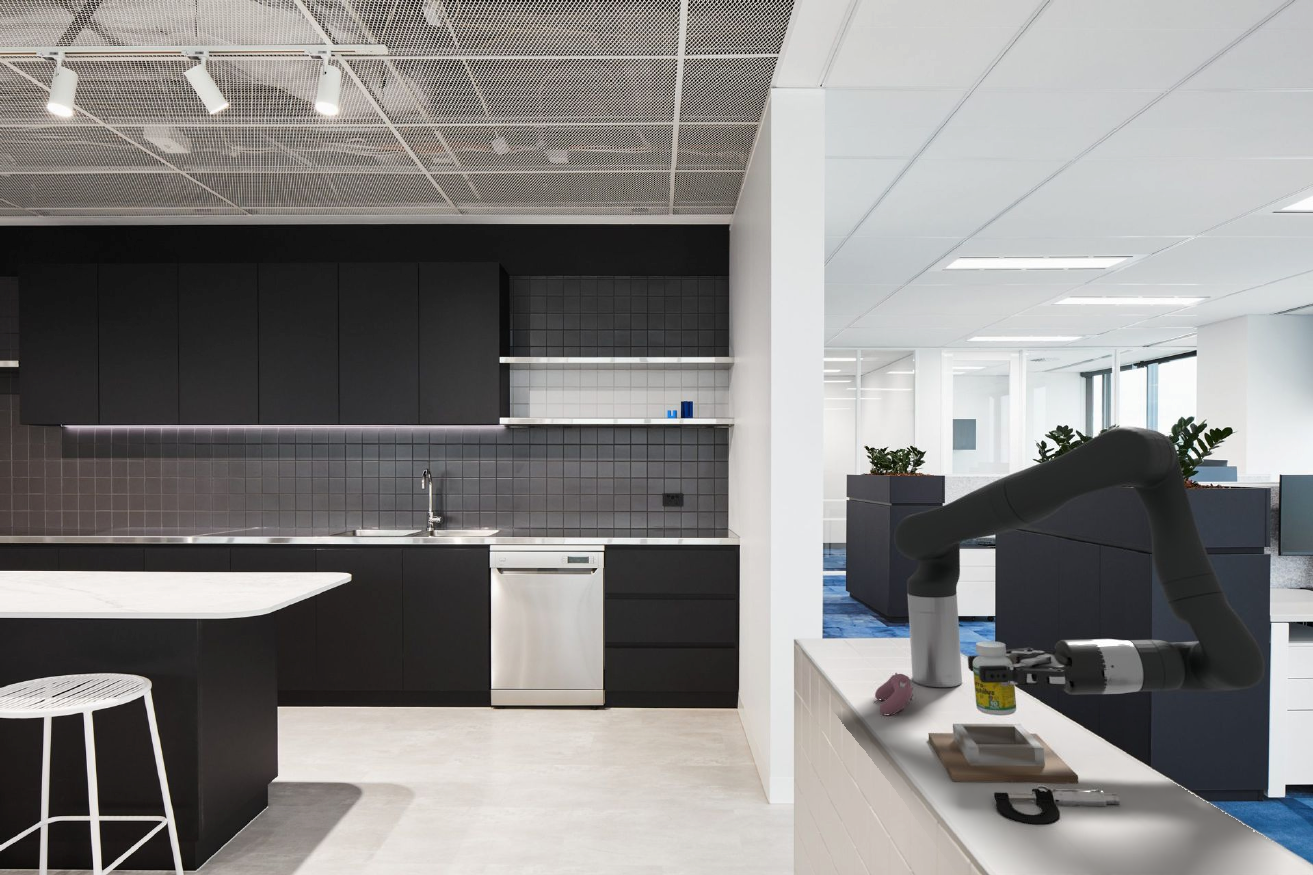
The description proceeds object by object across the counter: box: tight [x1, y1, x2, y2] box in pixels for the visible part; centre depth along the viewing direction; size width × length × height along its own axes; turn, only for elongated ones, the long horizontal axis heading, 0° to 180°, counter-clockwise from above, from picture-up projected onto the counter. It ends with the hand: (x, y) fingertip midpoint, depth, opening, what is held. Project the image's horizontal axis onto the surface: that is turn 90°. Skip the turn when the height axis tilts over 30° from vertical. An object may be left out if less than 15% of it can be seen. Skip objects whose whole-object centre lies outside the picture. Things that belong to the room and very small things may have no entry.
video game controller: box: [874, 672, 914, 716], centre depth 135 cm, size 10×5×7 cm, turn 169°
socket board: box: [927, 723, 1079, 784], centre depth 110 cm, size 16×16×4 cm
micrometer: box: [993, 785, 1121, 826], centre depth 93 cm, size 15×7×2 cm, turn 81°
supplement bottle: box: [972, 640, 1017, 716], centre depth 111 cm, size 5×5×10 cm
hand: (974, 668), depth 111 cm, fingers closed on supplement bottle, 5 cm apart
